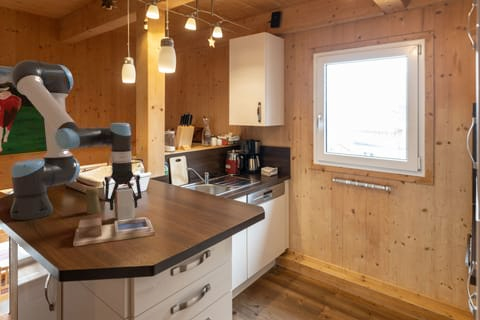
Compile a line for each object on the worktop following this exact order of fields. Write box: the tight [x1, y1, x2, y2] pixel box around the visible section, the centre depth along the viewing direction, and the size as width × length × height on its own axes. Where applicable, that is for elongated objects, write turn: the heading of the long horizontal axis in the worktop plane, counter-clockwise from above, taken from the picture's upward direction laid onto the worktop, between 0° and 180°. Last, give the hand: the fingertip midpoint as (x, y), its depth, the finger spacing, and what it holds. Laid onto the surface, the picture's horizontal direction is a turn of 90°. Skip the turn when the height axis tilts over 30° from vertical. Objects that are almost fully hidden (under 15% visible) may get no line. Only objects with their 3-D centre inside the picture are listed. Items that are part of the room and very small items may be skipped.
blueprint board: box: [72, 216, 156, 247], centre depth 113 cm, size 26×14×5 cm, turn 113°
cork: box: [85, 186, 102, 215], centre depth 137 cm, size 6×6×11 cm
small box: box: [112, 185, 135, 221], centre depth 128 cm, size 8×6×13 cm
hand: (124, 216), depth 128 cm, fingers closed on small box, 7 cm apart
